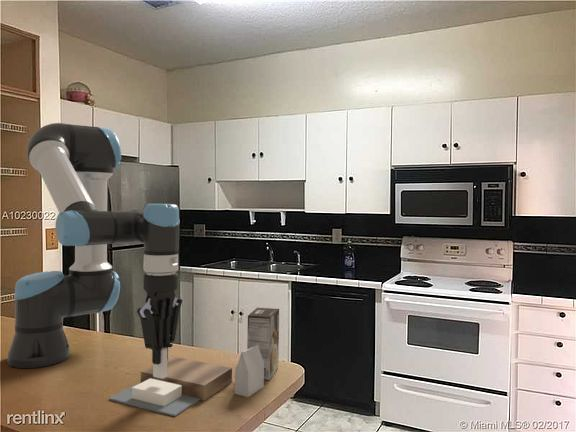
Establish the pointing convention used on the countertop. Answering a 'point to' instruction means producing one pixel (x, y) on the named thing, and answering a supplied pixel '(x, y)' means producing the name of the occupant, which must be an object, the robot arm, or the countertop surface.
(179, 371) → the brown flat block
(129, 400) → the mat
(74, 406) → the countertop surface
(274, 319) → the coffee box
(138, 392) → the tile
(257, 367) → the tea bag
